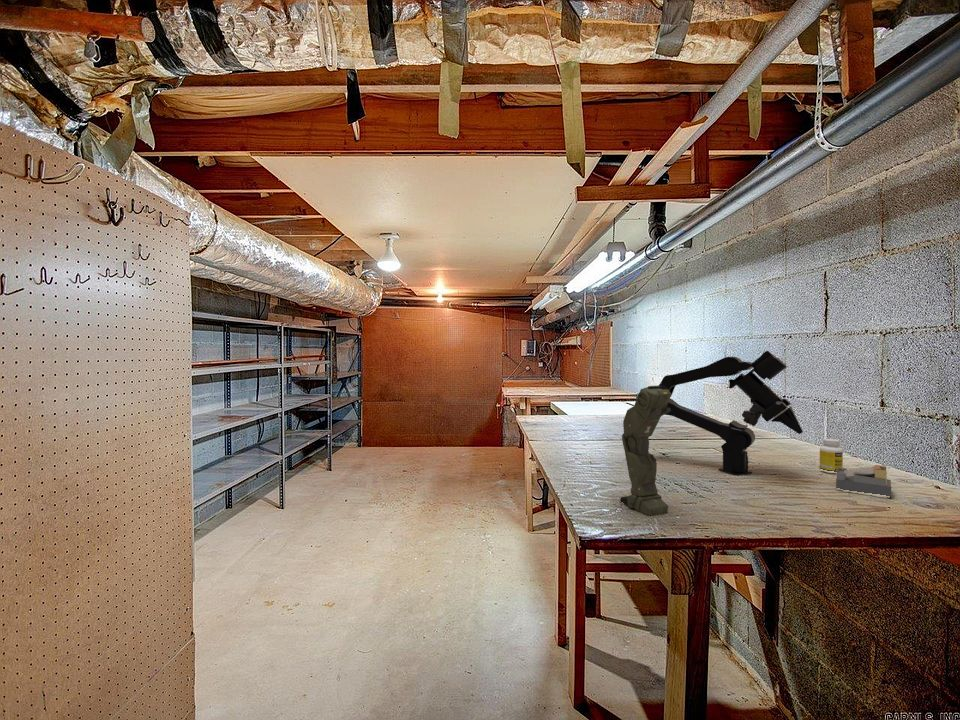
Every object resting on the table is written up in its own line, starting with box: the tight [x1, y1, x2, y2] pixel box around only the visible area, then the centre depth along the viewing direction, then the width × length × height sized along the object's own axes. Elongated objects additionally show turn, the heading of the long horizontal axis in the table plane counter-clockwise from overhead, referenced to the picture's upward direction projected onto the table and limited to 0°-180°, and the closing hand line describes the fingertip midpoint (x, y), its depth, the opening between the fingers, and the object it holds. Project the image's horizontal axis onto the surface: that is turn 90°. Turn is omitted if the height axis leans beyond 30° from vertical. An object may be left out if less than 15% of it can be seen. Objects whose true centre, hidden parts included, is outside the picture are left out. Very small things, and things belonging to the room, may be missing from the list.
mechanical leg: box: [619, 385, 672, 517], centre depth 103 cm, size 14×7×30 cm, turn 21°
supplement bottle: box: [819, 438, 844, 472], centre depth 132 cm, size 5×5×10 cm
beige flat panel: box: [839, 465, 881, 477], centre depth 114 cm, size 1×5×9 cm
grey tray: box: [835, 464, 892, 497], centre depth 114 cm, size 10×8×6 cm
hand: (801, 433), depth 123 cm, fingers closed
